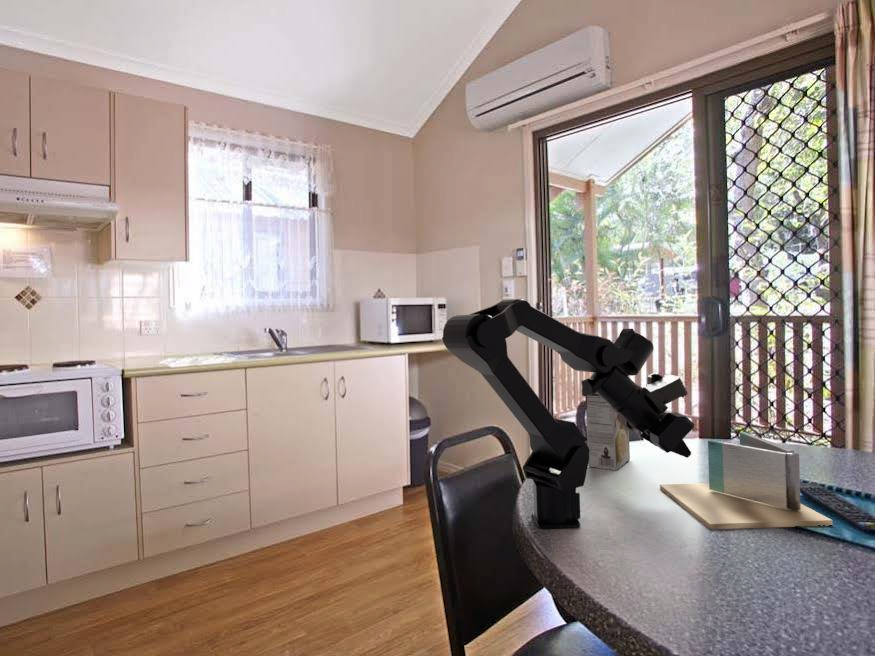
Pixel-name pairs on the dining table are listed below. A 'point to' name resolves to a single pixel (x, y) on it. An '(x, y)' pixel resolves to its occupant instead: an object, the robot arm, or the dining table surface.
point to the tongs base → (740, 502)
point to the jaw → (755, 474)
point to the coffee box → (605, 435)
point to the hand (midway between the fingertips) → (688, 455)
